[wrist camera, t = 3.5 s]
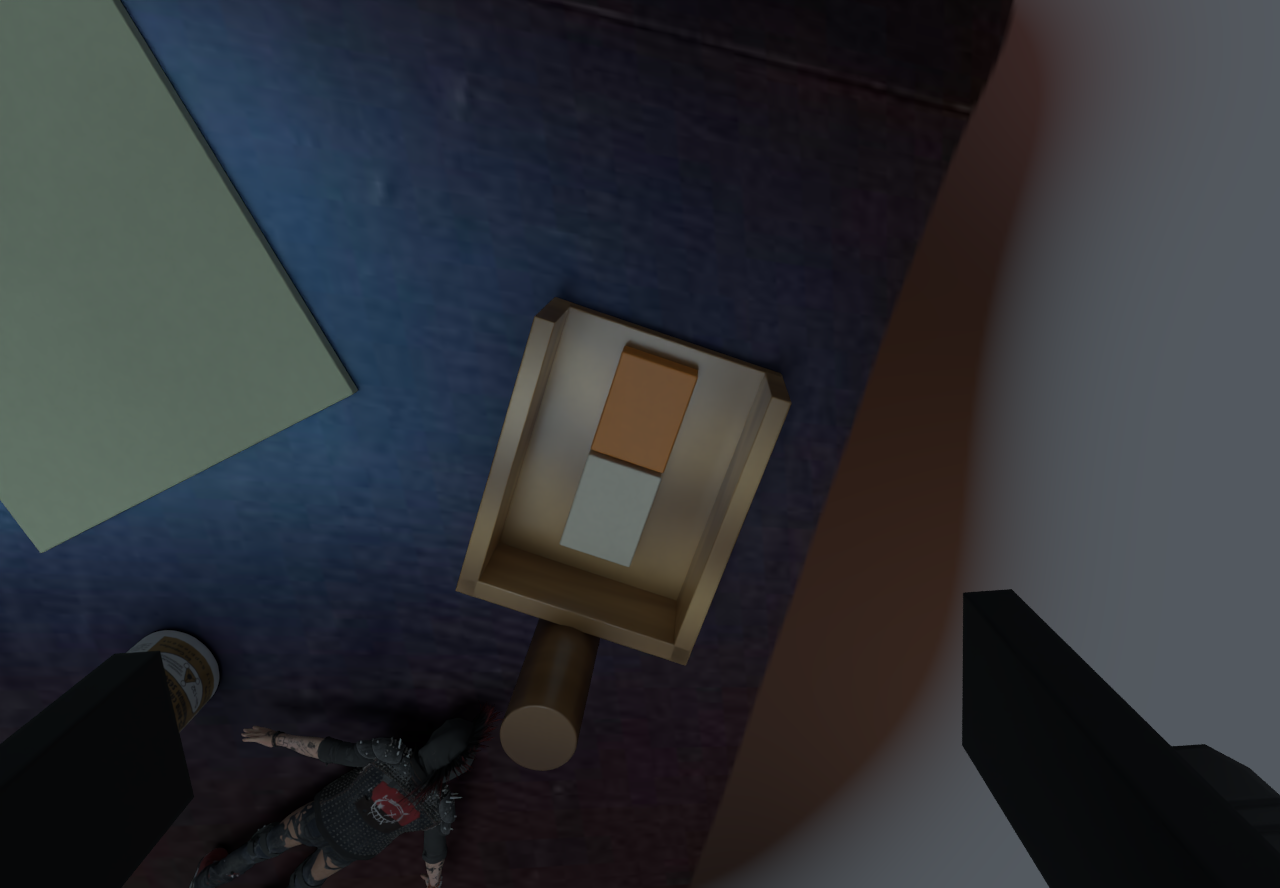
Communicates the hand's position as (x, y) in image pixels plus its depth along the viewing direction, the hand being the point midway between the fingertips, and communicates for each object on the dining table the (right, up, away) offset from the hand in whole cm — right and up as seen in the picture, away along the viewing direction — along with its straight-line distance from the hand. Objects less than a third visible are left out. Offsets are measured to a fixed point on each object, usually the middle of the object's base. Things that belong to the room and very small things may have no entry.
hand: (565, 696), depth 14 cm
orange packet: (+1, +6, +22) cm, 23 cm away
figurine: (-13, -13, +31) cm, 36 cm away
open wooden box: (0, +2, +24) cm, 24 cm away
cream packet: (0, +2, +24) cm, 24 cm away
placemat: (-24, +11, +23) cm, 35 cm away
